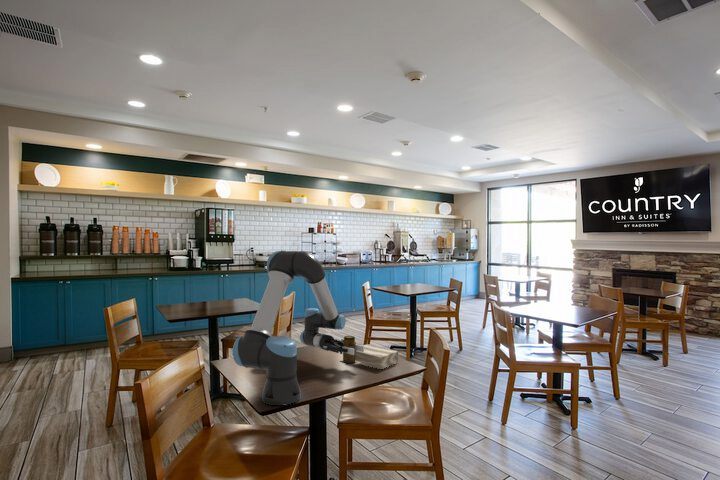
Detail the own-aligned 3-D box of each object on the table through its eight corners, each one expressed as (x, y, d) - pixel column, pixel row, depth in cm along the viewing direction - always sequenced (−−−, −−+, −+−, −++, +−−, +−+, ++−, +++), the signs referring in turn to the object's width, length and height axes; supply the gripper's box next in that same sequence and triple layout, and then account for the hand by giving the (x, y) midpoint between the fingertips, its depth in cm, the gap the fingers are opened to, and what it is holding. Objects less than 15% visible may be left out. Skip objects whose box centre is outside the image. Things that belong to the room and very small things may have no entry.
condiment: (350, 358, 188) (350, 334, 188) (361, 363, 182) (361, 337, 182) (338, 361, 184) (338, 336, 184) (349, 366, 177) (349, 340, 177)
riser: (381, 370, 184) (381, 357, 184) (350, 361, 197) (350, 349, 197) (398, 363, 195) (398, 351, 195) (367, 355, 208) (367, 344, 208)
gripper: (337, 345, 202) (371, 354, 187) (310, 353, 188) (344, 363, 172) (337, 331, 202) (371, 338, 187) (310, 337, 188) (344, 346, 172)
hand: (358, 350), depth 180 cm, fingers closed on condiment, 6 cm apart
